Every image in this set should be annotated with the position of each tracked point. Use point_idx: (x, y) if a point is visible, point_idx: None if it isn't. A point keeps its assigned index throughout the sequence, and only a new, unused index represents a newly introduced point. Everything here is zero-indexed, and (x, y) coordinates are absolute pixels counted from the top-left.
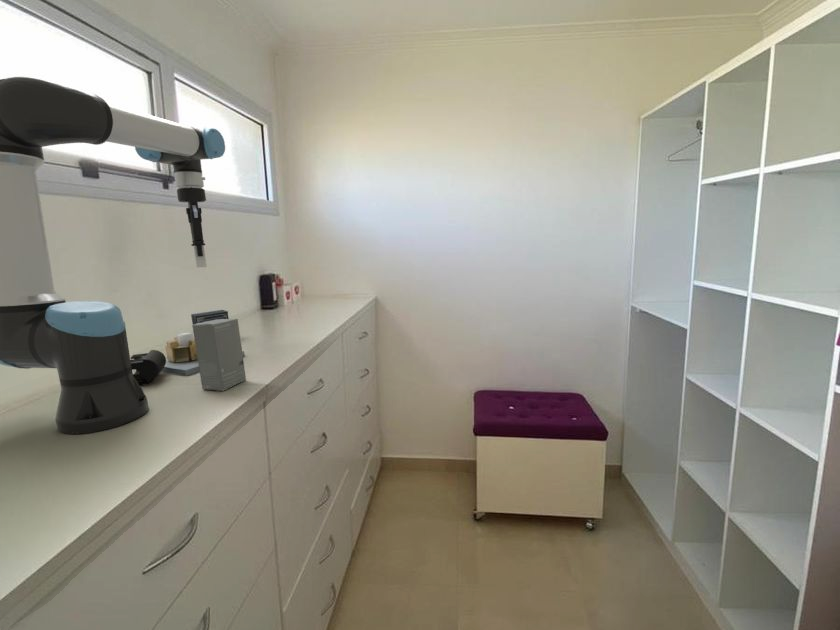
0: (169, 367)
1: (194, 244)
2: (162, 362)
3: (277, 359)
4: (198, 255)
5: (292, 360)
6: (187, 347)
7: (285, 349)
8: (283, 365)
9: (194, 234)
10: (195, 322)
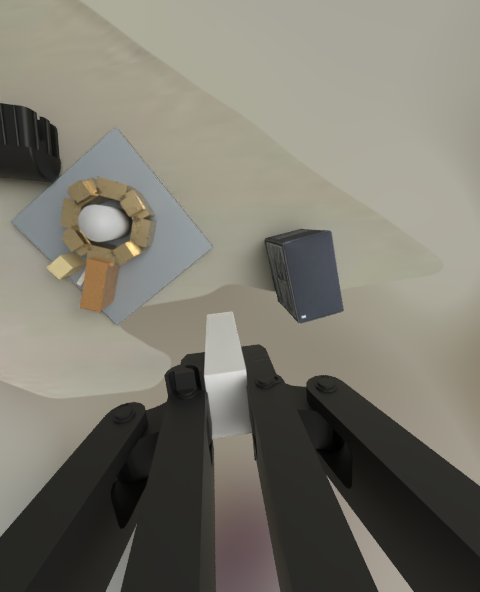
0: (49, 188)
1: (171, 392)
2: (5, 176)
3: (64, 371)
4: (185, 360)
5: (44, 393)
6: (64, 226)
7: (134, 388)
8: (16, 377)
9: (45, 495)
10: (286, 240)
